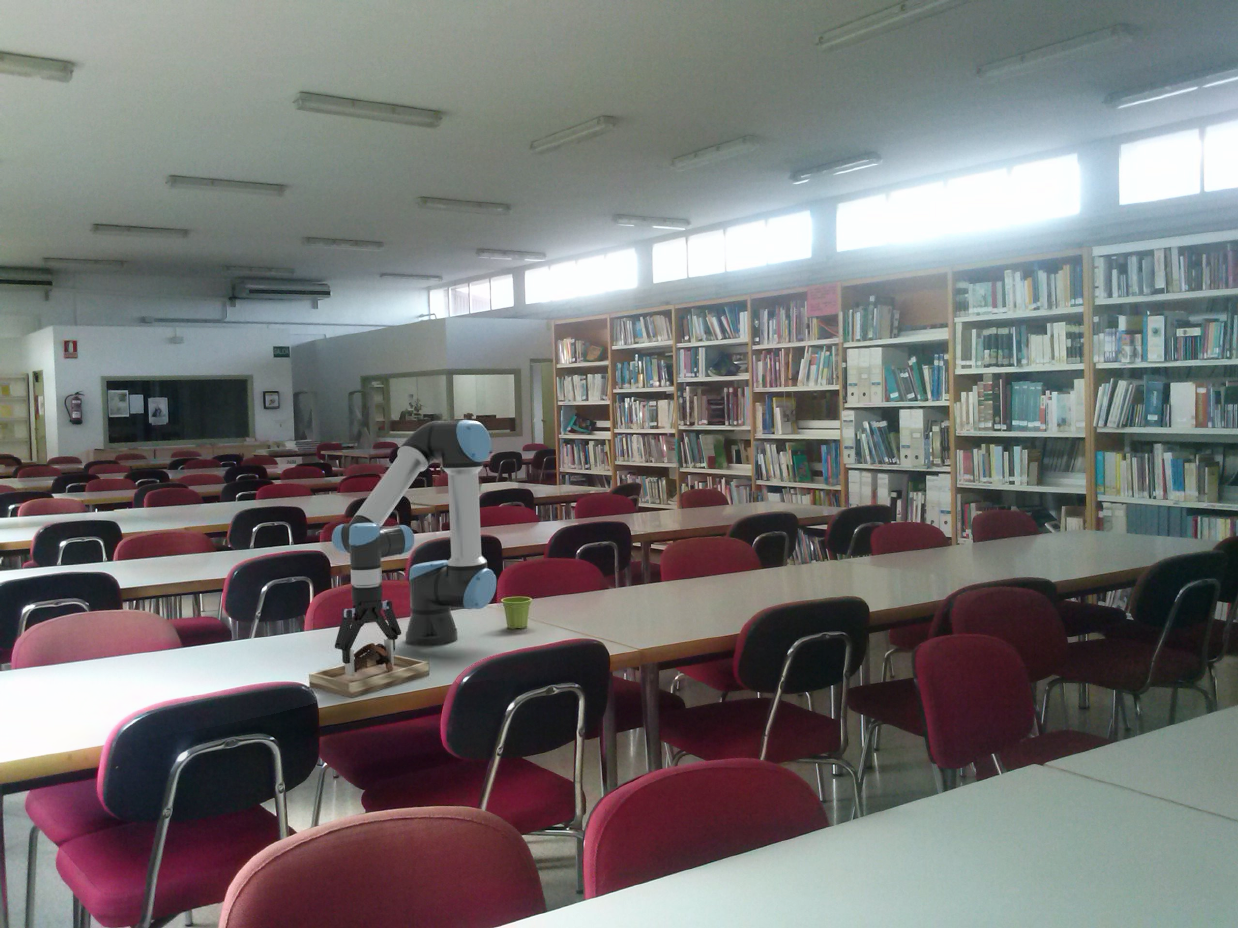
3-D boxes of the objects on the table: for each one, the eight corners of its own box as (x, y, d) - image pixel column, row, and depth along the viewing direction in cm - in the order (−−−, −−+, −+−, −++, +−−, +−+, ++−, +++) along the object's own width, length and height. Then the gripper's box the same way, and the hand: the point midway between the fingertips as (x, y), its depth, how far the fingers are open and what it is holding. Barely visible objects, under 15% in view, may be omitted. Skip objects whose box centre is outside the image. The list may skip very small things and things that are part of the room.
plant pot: (516, 622, 312) (515, 595, 311) (538, 625, 306) (538, 598, 306) (495, 628, 304) (495, 600, 304) (518, 631, 299) (517, 603, 298)
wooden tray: (386, 664, 263) (386, 653, 263) (429, 674, 253) (428, 662, 253) (309, 686, 244) (308, 673, 244) (352, 697, 234) (351, 684, 234)
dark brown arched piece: (390, 678, 243) (372, 652, 241) (359, 694, 245) (340, 668, 242) (402, 654, 254) (385, 629, 252) (372, 669, 256) (355, 644, 254)
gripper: (394, 576, 259) (397, 657, 260) (317, 591, 240) (320, 678, 241) (413, 578, 254) (416, 661, 256) (335, 594, 235) (339, 683, 237)
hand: (370, 669), depth 249 cm, fingers closed on dark brown arched piece, 11 cm apart
